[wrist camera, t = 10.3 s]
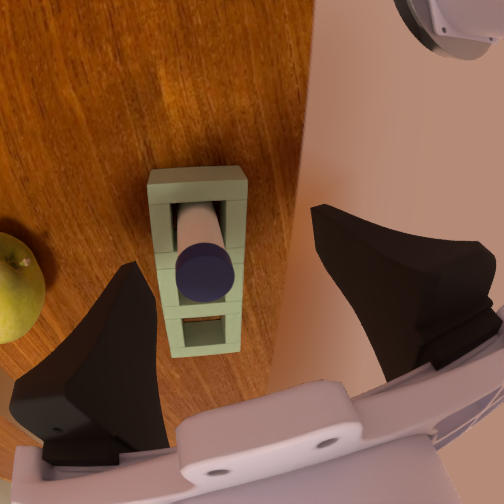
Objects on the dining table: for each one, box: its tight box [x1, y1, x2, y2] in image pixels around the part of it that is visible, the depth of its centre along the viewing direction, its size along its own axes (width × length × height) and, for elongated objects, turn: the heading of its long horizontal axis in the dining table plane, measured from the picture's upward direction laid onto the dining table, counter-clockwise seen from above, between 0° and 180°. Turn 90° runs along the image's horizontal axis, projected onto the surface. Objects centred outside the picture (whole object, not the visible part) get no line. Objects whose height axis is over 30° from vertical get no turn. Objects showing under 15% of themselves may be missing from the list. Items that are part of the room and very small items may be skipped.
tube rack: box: [147, 165, 248, 358], centre depth 23 cm, size 15×6×3 cm, turn 177°
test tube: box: [175, 201, 235, 302], centre depth 19 cm, size 3×3×8 cm
